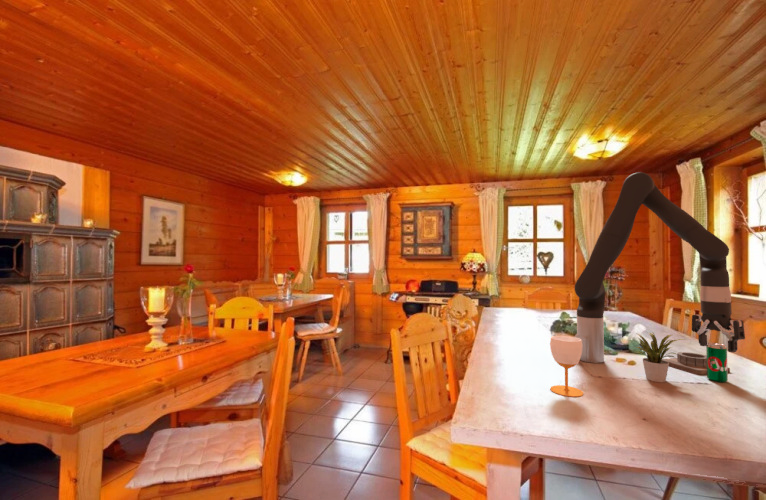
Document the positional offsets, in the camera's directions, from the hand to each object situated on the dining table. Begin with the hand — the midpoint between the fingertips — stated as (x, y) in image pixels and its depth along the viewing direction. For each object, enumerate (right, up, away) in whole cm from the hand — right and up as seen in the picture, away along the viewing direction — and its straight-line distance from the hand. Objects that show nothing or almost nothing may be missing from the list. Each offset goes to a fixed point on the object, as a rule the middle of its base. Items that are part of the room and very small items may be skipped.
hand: (717, 348), depth 119 cm
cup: (-55, -10, -10) cm, 57 cm away
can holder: (+4, -11, +14) cm, 18 cm away
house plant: (-19, -11, 0) cm, 21 cm away
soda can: (0, -11, 0) cm, 11 cm away
